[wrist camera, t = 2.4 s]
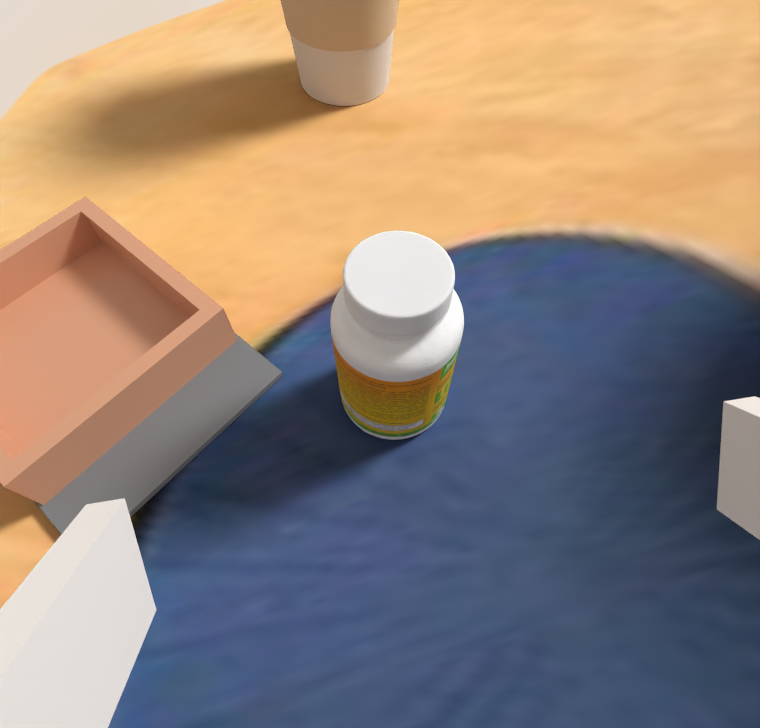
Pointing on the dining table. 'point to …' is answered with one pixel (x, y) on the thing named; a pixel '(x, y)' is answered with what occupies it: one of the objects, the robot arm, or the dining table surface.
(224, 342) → the dish
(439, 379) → the supplement bottle
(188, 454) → the mat
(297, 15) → the coffee cup
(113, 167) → the dining table surface
